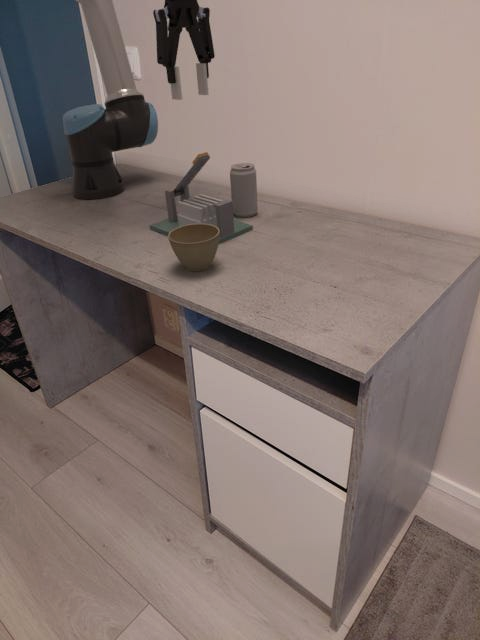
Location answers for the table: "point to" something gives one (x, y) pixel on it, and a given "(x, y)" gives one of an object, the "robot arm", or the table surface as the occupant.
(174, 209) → the board
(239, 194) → the beverage can
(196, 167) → the grey long bar
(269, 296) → the table surface
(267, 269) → the table surface
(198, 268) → the flower pot
